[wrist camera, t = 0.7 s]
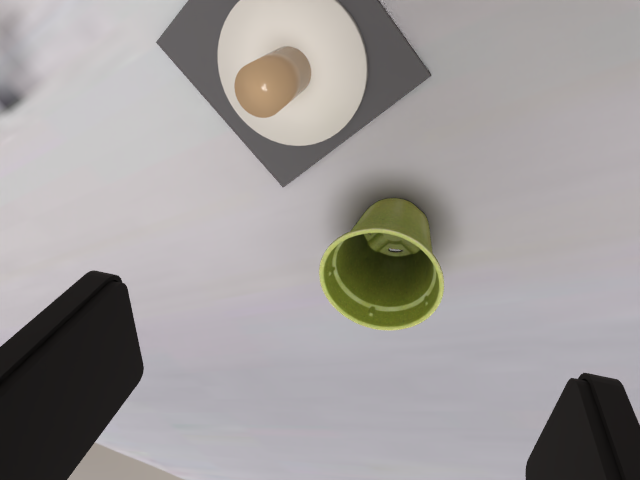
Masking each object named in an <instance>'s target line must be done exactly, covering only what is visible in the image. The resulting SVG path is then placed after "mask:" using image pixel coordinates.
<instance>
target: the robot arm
mask: <svg viewBox="0 0 640 480" xmlns="http://www.w3.org/2000/svg"><path fill="white" fill-rule="evenodd" d="M143 369H144V367H143V361H142V356H141V352H140V347H139V342H138V337H137V332H136V327H135V323H134V318H133V313H132V308H131V303H130V299H129V294H128V289H127V286H126V285H125V284H124V283H122V280H121V278H120V277H119V276H117V275H113V274H108V273H104V272H99V271H90V272H88V273H87V274H85V275H84V276H83V277H82V278H81V279H79V280H78V281H77V282H76V283H75V284H73V285H72V286H71V287H70V288H69V289H68V290H66V291H65V292H64V293H63V294H62V295H61V296H59V297H58V298H57V299H56V300H55V301H54V302H52V303H51V304H50V305H49V306H48V307H47V308H45V309H44V310H43V311H42V312H41V313H40V314H38V315H37V316H36V317H35V318H34V319H33V320H31V321H30V322H29V323H28V324H27V325H25V326H24V327H23V328H22V329H21V330H20V331H18V332H17V333H16V334H15V335H14V336H13V337H11V338H10V339H9V340H8V341H7V342H6V343H4V344H3V345H2V346H1V347H0V480H67V479H68V478H69V476H70V475H71V474H72V472H73V471H74V470H75V468H76V467H77V465H78V464H79V463H80V461H81V460H82V459H83V457H84V456H85V455H86V453H87V452H88V451H89V449H90V448H91V446H92V445H93V444H94V442H95V441H96V440H97V438H98V437H99V436H100V434H101V433H102V432H103V430H104V429H105V428H106V426H107V425H108V424H109V422H110V421H111V419H112V418H113V417H114V415H115V414H116V413H117V411H118V410H119V409H120V407H121V406H122V405H123V403H124V402H125V401H126V399H127V398H128V397H129V395H130V394H131V392H132V391H133V390H134V388H135V387H136V386H137V384H138V383H139V381H140V380H141V377H142V374H143ZM526 480H640V425H639V423H638V420H637V418H636V416H635V413H634V411H633V408H632V406H631V404H630V401H629V399H628V396H627V394H626V392H625V389H624V387H623V385H622V383H621V382H620V381H619V380H617V379H612V378H608V377H603V376H598V375H593V374H588V373H583V374H581V375H580V377H579V378H578V379H574V378H571V379H569V381H568V382H567V384H566V386H565V388H564V390H563V392H562V394H561V396H560V398H559V400H558V402H557V404H556V406H555V408H554V410H553V412H552V414H551V416H550V417H549V419H548V421H547V423H546V425H545V427H544V429H543V431H542V433H541V435H540V437H539V439H538V441H537V443H536V445H535V447H534V449H533V451H532V453H531V455H530V457H529V459H528V461H527V465H526Z"/></svg>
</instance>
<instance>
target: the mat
mask: <svg viewBox="0 0 640 480" xmlns="http://www.w3.org/2000/svg"><path fill="white" fill-rule="evenodd" d="M239 1H240V0H188V2H187V3H186V4H185V6H184V7H183V8H182V10H181V11H180V12H179V13H178V15H177V16H176V17H175V19H174V20H173V21H172V22H171V24H170V25H169V26H168V28H167V29H166V30H165V31H164V33H163V34H162V35H161V37H160V38H159V39H158V40H157V42H156V43H157V44H158V45H159V46H160V47H161V48H162V50H163V51H164V52H165V53H166V54H167V55H168V56H169V58H170V59H171V60H172V61H173V62H174V63H175V64H176V66H177V67H178V68H179V69H180V70H181V71H182V72H183V74H184V75H185V76H186V77H187V78H188V79H189V80H190V82H191V83H192V84H193V85H194V86H195V87H196V88H197V90H198V91H199V92H200V93H201V94H202V95H203V96H204V98H205V99H206V100H207V101H208V102H209V103H210V104H211V106H212V107H213V108H214V109H215V110H216V111H217V112H218V114H219V115H220V116H221V117H222V118H223V119H224V120H225V122H226V123H227V124H228V125H229V126H230V127H231V128H232V130H233V131H234V132H235V133H236V134H237V135H238V137H239V138H240V139H241V140H242V141H243V142H244V143H245V145H246V146H247V147H248V148H249V149H250V150H251V151H252V153H253V154H254V155H255V156H256V157H257V158H258V159H259V161H260V162H261V163H262V164H263V165H264V166H265V167H266V169H267V170H268V171H269V172H270V173H271V174H272V175H273V177H274V178H275V179H276V180H277V181H278V182H279V183H280V185H281V186H282V187H285V186H286V185H287V184H289V183H290V182H291V181H292V180H294V179H295V178H296V177H298V176H299V175H300V174H302V173H303V172H304V171H306V170H307V169H308V168H310V167H311V166H312V165H314V164H315V163H316V162H318V161H319V160H320V159H322V158H323V157H324V156H326V155H327V154H328V153H329V152H331V151H332V150H333V149H335V148H336V147H337V146H339V145H340V144H341V143H343V142H344V141H345V140H347V139H348V138H349V137H351V136H352V135H353V134H355V133H356V132H357V131H359V130H360V129H361V128H362V127H364V126H365V125H366V124H368V123H369V122H370V121H372V120H373V119H374V118H376V117H377V116H378V115H380V114H381V113H382V112H384V111H385V110H386V109H388V108H389V107H390V106H392V105H393V104H394V103H395V102H397V101H398V100H399V99H401V98H402V97H403V96H405V95H406V94H407V93H409V92H410V91H411V90H413V89H414V88H415V87H417V86H418V85H419V84H421V83H422V82H423V81H425V80H426V79H427V78H428V77H430V76H431V74H430V73H429V71H428V70H427V68H426V67H425V66H424V64H423V63H422V61H421V60H420V59H419V57H418V56H417V54H416V53H415V51H414V50H413V49H412V47H411V46H410V44H409V43H408V42H407V40H406V39H405V37H404V36H403V35H402V33H401V32H400V30H399V29H398V27H397V26H396V25H395V23H394V22H393V20H392V19H391V18H390V16H389V15H388V13H387V12H386V11H385V9H384V8H383V6H382V5H381V3H380V2H379V1H378V0H338V1H339V2H340V3H341V4H342V5H343V6H344V7H345V8H346V9H347V11H348V12H349V13H350V14H351V16H352V17H353V19H354V20H355V22H356V24H357V26H358V28H359V30H360V32H361V34H362V37H363V40H364V43H365V46H366V51H367V57H368V80H367V86H366V90H365V93H364V96H363V99H362V101H361V104H360V106H359V108H358V109H357V111H356V112H355V114H354V116H353V117H352V118H351V120H350V121H349V122H348V123H347V124H346V126H345V127H344V128H342V129H341V130H340V131H339V132H338V133H336V134H335V135H333V136H332V137H331V138H328V139H326V140H324V141H322V142H319V143H316V144H312V145H306V146H293V145H285V144H281V143H278V142H275V141H272V140H270V139H268V138H266V137H264V136H262V135H260V134H259V133H257V132H256V131H254V130H253V129H252V128H251V127H249V126H248V125H247V124H246V123H245V122H244V121H243V120H242V119H241V118H240V116H239V115H238V114H237V113H236V111H235V110H234V108H233V107H232V105H231V104H230V102H229V100H228V98H227V96H226V94H225V92H224V89H223V86H222V83H221V79H220V75H219V69H218V43H219V38H220V34H221V30H222V28H223V25H224V22H225V20H226V18H227V17H228V15H229V13H230V11H231V10H232V9H233V7H234V6H235V5H236V4H237V3H238V2H239Z"/></svg>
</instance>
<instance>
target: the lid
mask: <svg viewBox="0 0 640 480" xmlns="http://www.w3.org/2000/svg"><path fill="white" fill-rule="evenodd" d="M218 69H219V75H220V79H221V83H222V86H223V89H224V92H225V94H226V96H227V98H228V100H229V102H230V104H231V105H232V107H233V108H234V110H235V111H236V113H237V114H238V115H239V116H240V118H241V119H242V120H243V121H244V122H245V123H246V124H247V125H248V126H249V127H251V128H252V129H253V130H254V131H256V132H257V133H259V134H260V135H262V136H264V137H266V138H268V139H270V140H272V141H275V142H278V143H281V144H285V145H293V146H306V145H312V144H316V143H319V142H322V141H324V140H326V139H328V138H331V137H332V136H333V135H335V134H336V133H338V132H339V131H340V130H341V129H342V128H344V127H345V126H346V124H347V123H348V122H349V121H350V120H351V118H352V117H353V116H354V114H355V112H356V111H357V109H358V108H359V106H360V104H361V101H362V99H363V96H364V93H365V90H366V86H367V80H368V57H367V51H366V46H365V43H364V40H363V37H362V34H361V32H360V30H359V28H358V26H357V24H356V22H355V20H354V19H353V17H352V16H351V14H350V13H349V12H348V11H347V9H346V8H345V7H344V6H343V5H342V4H341V3H340V2H339V1H338V0H240V1H239V2H238V3H237V4H236V5H235V6H234V7H233V9H232V10H231V11H230V13H229V15H228V17H227V18H226V20H225V22H224V25H223V28H222V30H221V34H220V38H219V43H218Z"/></svg>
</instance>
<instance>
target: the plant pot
mask: <svg viewBox="0 0 640 480" xmlns="http://www.w3.org/2000/svg"><path fill="white" fill-rule="evenodd" d="M369 233H371V234H369ZM389 248H391V249H400V250H401V249H402V251H401V252H391V251H389V250H388V249H389ZM319 276H320V283H321V287H322V289H323V292H324V294H325V295H326V297H327V299H328V300H329V302H330V303H331V304H332V305H333V306H334V308H336V310H337V311H339V312H340V313H341V314H342V315H343V316H345V317H346V318H348V319H350V320H352V321H353V322H355V323H358V324H360V325H362V326H365V327H369V328H372V329H377V330H400V329H405V328H409V327H413V326H415V325H417V324H420V323H421V322H423V321H425V320H426V319H427V318H429V317H430V316H431V315H432V314H433V313H434V311H435V310H436V309H437V307H438V306H439V304H440V302H441V300H442V296H443V292H444V279H443V273H442V270H441V267H440V265H439V263H438V261H437V259H436V258H435V256H434V255H433V254H432V247H431V238H430V230H429V224H428V220H427V218H426V216H425V215H424V213H423V212H422V211H420V210H419V209H418V208H417V207H416V206H415V205H414V204H413V203H411V202H409V201H406V200H403V199H398V198H388V199H383V200H380V201H378V202H376V203H375V204H373V205H372V206H370V207H369V208H368V209H367V210H366V212H365V213H364V214H363V216H362V217H361V218H360V220H359V221H358V222H357V224H356V225H355V226H354V227H353V229H352V230H351V231H350V232H348V233H346V234H344V235H342V236H340V237H339V238H337V239H336V240H335V241H334V242H333V243H332V244H331V245H330V246H329V247H328V248H327V250H326V251H325V253H324V255H323V257H322V259H321V263H320V268H319Z"/></svg>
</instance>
